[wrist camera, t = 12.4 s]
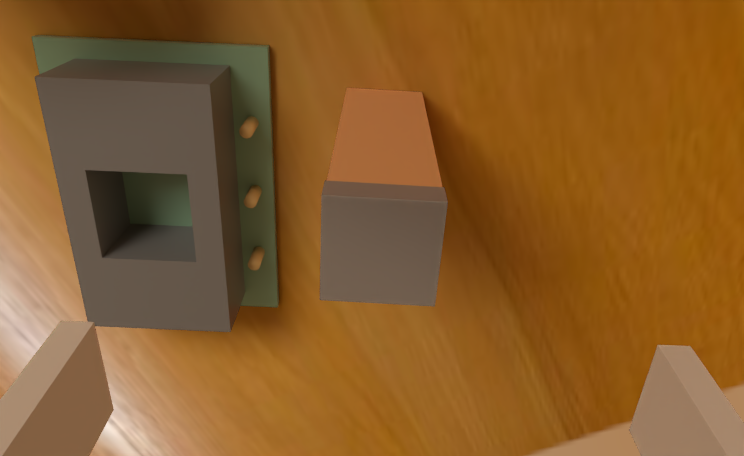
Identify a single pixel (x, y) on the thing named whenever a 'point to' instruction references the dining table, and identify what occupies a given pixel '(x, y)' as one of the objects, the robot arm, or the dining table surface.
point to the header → (163, 176)
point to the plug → (382, 203)
